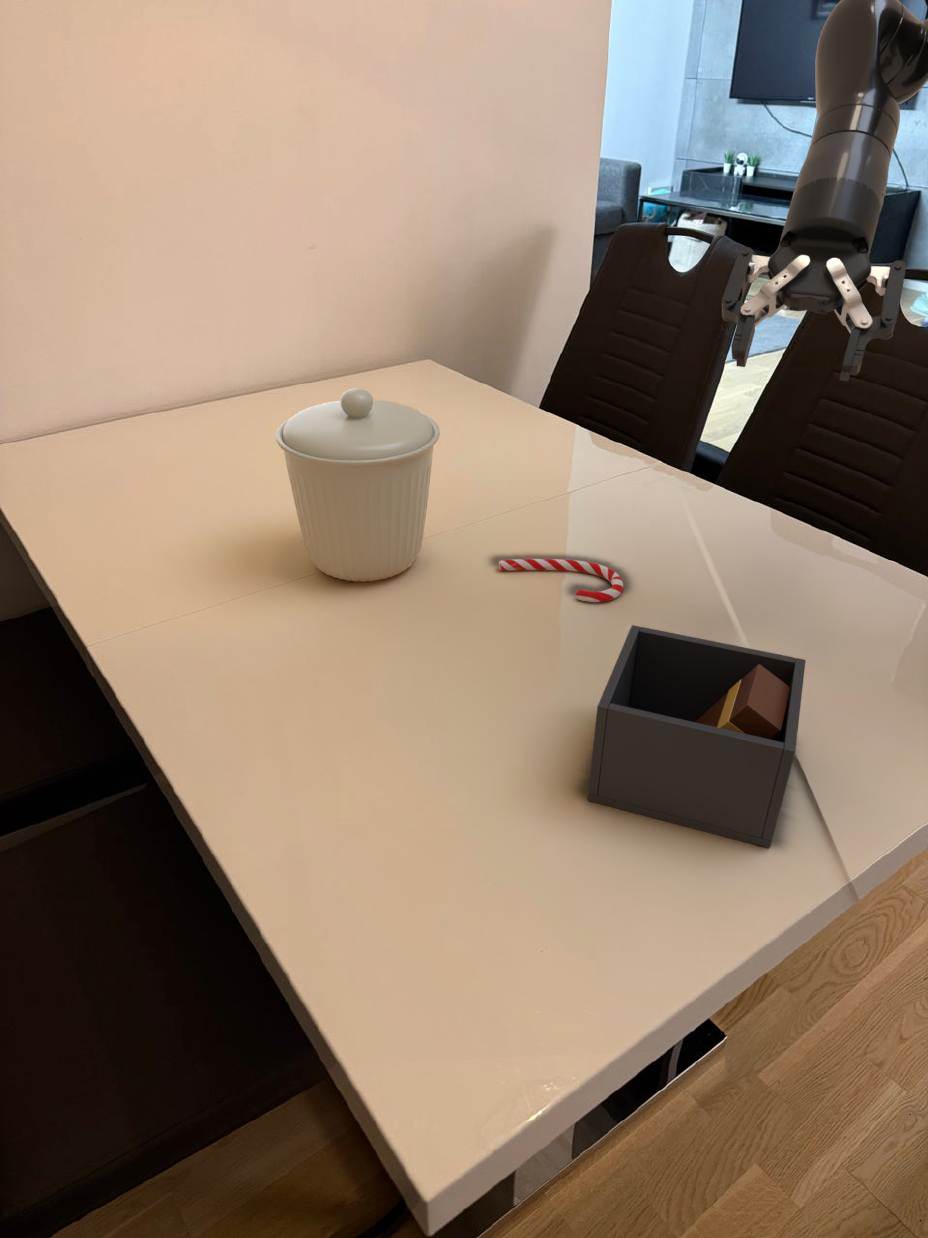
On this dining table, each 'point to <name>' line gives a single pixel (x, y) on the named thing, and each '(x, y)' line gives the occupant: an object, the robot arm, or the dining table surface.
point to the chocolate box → (751, 705)
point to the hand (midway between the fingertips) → (791, 369)
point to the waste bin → (691, 737)
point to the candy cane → (571, 566)
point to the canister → (360, 483)
